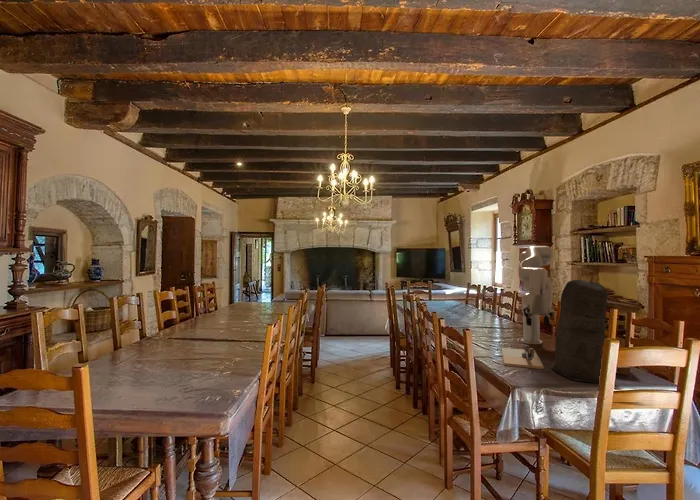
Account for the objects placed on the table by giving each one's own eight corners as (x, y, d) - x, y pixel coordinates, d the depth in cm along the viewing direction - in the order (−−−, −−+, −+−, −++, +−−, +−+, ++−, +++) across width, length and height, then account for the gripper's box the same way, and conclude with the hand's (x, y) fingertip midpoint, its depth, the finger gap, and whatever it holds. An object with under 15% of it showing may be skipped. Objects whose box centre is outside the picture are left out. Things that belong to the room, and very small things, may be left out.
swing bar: (525, 353, 200) (525, 346, 200) (529, 353, 199) (529, 347, 199) (527, 359, 188) (527, 352, 188) (532, 360, 187) (532, 353, 187)
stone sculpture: (557, 382, 168) (567, 284, 163) (548, 365, 187) (557, 276, 183) (619, 392, 160) (631, 289, 156) (603, 373, 180) (614, 281, 175)
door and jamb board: (501, 349, 222) (501, 336, 222) (534, 352, 216) (534, 339, 216) (504, 365, 190) (504, 350, 190) (543, 369, 184) (543, 353, 184)
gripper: (547, 291, 198) (548, 323, 198) (517, 291, 196) (517, 324, 195) (557, 292, 191) (557, 326, 190) (526, 292, 188) (526, 326, 188)
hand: (537, 325), depth 193 cm, fingers open, 9 cm apart
